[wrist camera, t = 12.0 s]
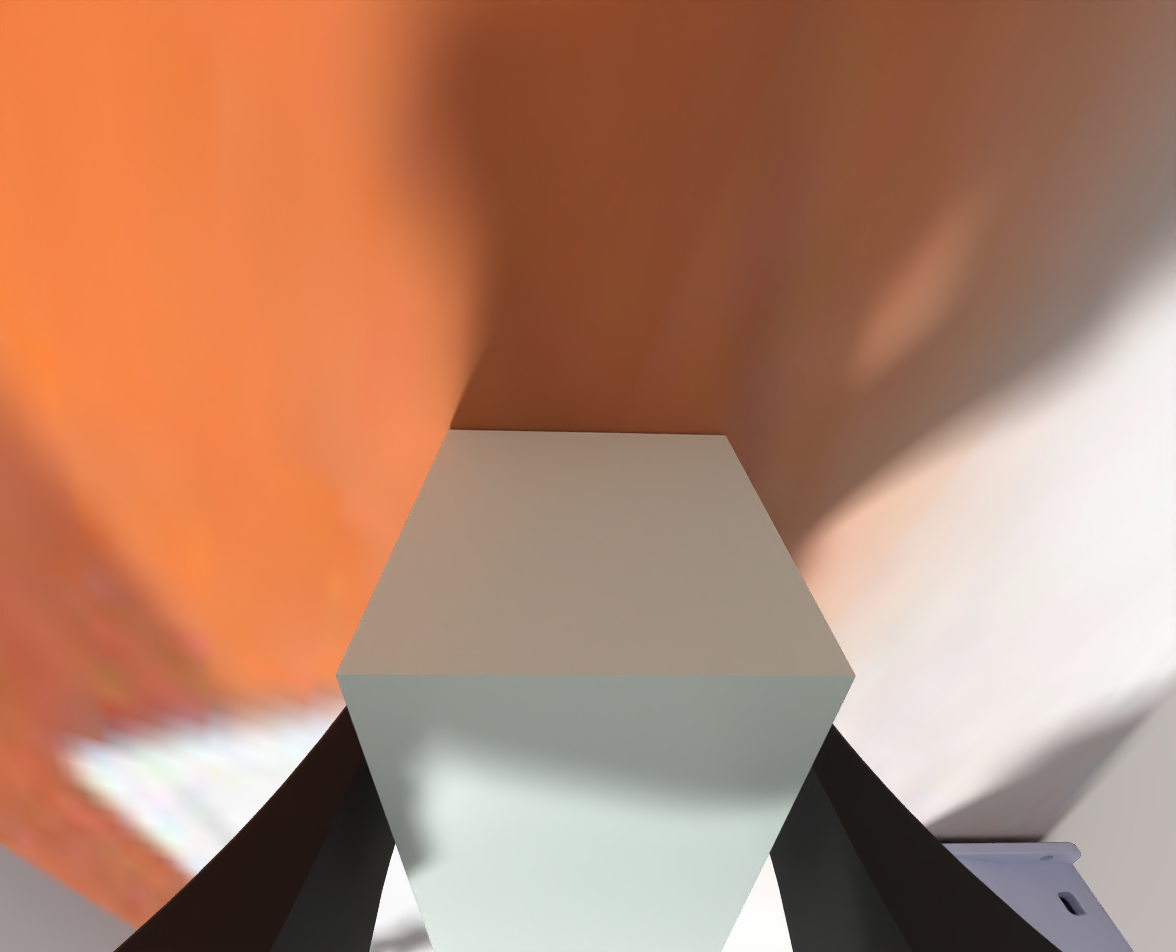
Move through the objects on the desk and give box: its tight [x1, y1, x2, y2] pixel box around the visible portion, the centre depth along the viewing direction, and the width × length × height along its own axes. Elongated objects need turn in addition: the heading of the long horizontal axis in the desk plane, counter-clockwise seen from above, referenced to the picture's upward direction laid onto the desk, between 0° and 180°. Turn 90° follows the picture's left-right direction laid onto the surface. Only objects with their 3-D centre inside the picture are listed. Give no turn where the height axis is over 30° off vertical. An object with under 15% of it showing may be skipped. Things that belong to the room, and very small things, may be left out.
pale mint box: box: [336, 430, 855, 952], centre depth 11 cm, size 6×10×6 cm, turn 178°
